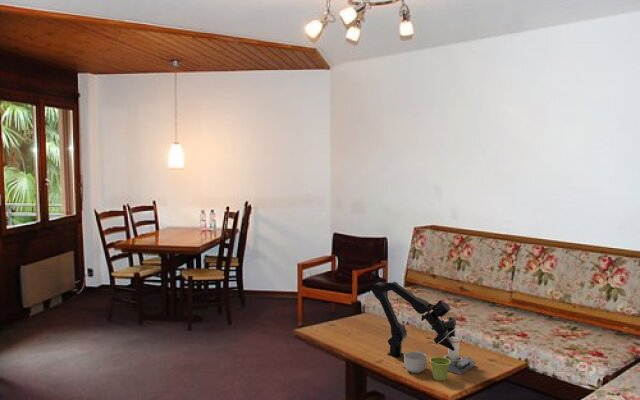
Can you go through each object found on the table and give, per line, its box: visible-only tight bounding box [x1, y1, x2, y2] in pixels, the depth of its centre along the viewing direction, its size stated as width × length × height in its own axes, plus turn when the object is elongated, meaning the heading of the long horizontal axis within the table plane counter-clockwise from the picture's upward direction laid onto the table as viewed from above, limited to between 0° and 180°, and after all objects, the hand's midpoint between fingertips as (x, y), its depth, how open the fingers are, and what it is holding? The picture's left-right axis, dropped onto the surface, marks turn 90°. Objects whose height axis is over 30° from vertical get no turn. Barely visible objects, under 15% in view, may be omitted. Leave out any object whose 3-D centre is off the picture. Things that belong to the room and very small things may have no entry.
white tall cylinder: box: [447, 336, 461, 360], centre depth 270 cm, size 5×5×12 cm
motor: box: [443, 354, 476, 376], centre depth 270 cm, size 16×13×5 cm
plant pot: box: [429, 356, 451, 382], centre depth 254 cm, size 9×9×9 cm
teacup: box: [403, 350, 427, 374], centre depth 265 cm, size 14×11×8 cm
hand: (456, 347), depth 270 cm, fingers open, 8 cm apart
